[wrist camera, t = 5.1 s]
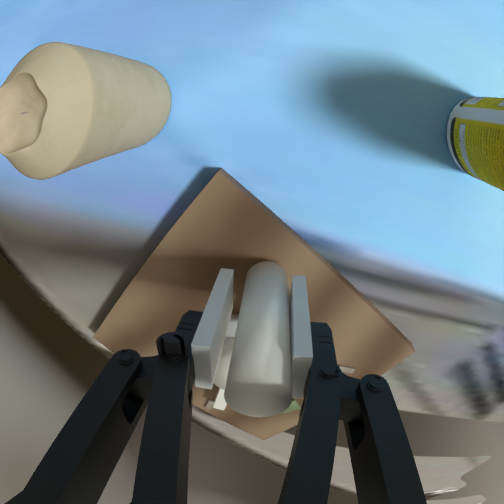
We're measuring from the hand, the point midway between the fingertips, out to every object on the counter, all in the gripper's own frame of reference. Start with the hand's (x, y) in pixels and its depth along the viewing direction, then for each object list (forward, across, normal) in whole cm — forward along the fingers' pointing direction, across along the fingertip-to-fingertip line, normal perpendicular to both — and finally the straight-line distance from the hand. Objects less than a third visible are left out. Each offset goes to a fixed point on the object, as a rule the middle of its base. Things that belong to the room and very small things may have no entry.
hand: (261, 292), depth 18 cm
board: (+3, -1, -7) cm, 7 cm away
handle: (+2, -1, -6) cm, 6 cm away
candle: (+3, -9, +11) cm, 14 cm away
